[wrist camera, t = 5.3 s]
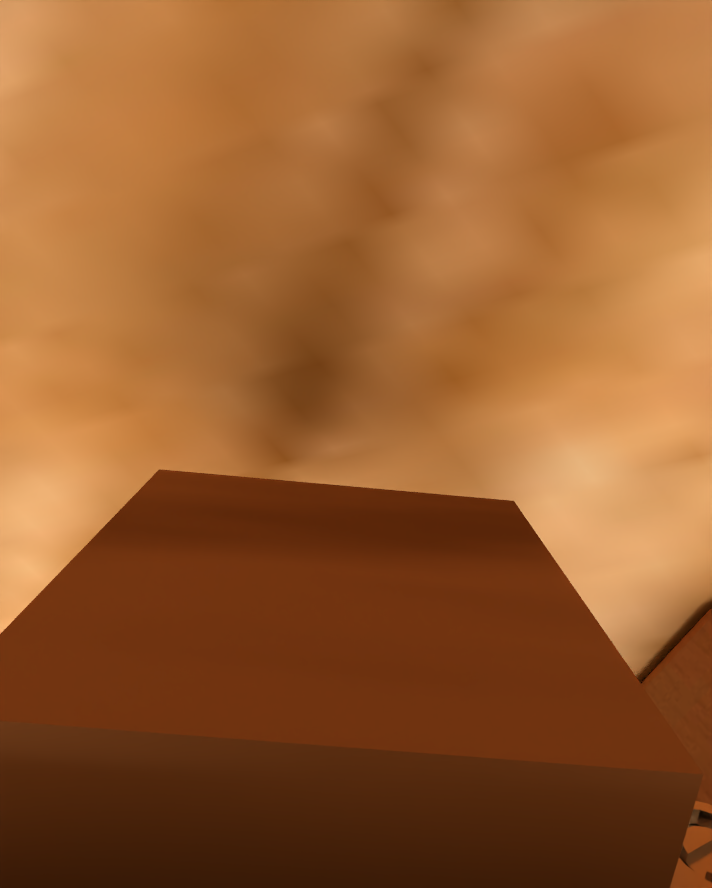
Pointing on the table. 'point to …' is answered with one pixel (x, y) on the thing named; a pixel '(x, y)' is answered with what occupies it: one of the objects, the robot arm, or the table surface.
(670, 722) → the wooden block
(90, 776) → the walnut cube
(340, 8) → the table surface
